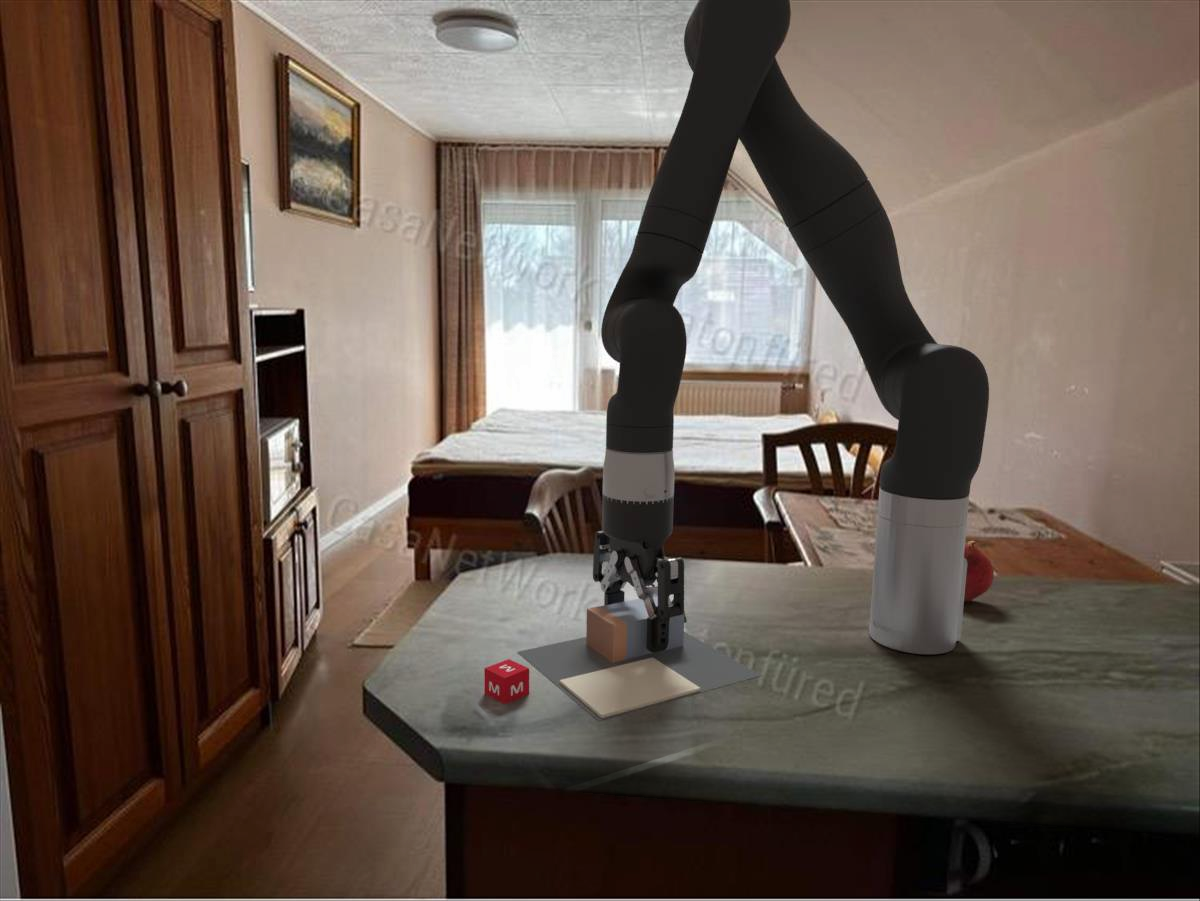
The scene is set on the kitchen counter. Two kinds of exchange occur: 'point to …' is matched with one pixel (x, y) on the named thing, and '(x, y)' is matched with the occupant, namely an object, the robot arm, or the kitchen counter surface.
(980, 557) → the onion
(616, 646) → the card box
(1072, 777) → the kitchen counter surface
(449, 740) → the kitchen counter surface
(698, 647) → the mat
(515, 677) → the red letter m cube
